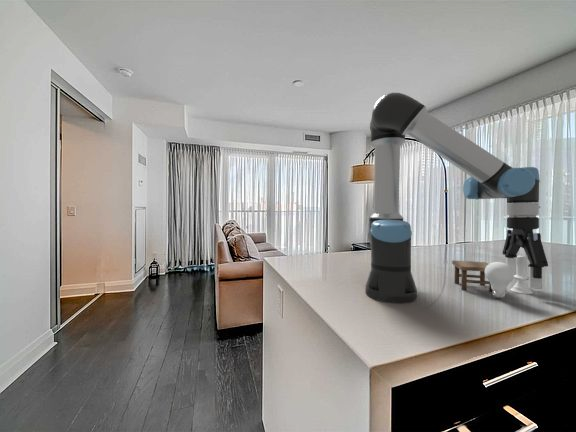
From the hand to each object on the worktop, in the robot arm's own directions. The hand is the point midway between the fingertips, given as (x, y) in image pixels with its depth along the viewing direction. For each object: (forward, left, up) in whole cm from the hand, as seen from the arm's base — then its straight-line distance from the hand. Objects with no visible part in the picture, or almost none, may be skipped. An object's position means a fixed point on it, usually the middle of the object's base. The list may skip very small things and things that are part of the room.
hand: (522, 282), depth 80 cm
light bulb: (-10, -10, -3) cm, 15 cm away
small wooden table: (-13, 0, -3) cm, 14 cm away
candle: (0, 0, -3) cm, 3 cm away
